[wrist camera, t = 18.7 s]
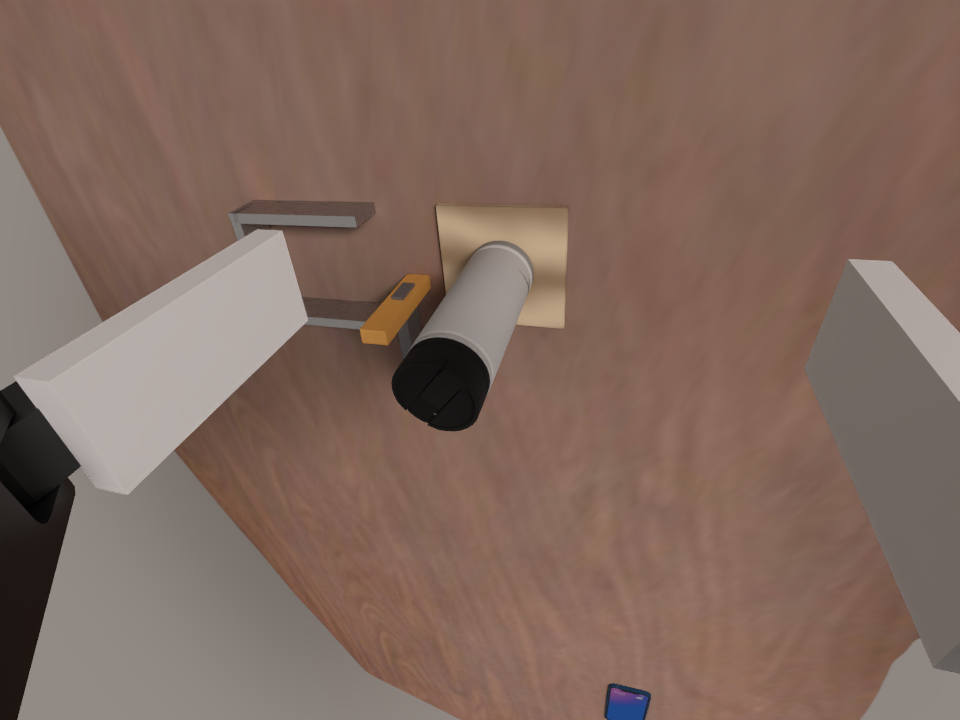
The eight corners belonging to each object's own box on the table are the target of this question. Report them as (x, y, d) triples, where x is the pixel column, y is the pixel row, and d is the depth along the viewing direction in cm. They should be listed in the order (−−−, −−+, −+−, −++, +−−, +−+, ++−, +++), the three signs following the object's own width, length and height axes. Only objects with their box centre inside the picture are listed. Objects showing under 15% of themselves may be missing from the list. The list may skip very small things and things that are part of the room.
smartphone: (603, 719, 97) (608, 685, 89) (604, 714, 98) (609, 680, 90) (642, 729, 96) (651, 696, 87) (642, 724, 96) (651, 690, 88)
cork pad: (437, 203, 46) (435, 205, 46) (568, 206, 43) (568, 208, 43) (450, 316, 53) (448, 319, 52) (564, 325, 50) (563, 328, 49)
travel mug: (550, 264, 46) (500, 403, 30) (509, 311, 50) (447, 454, 34) (495, 223, 45) (415, 343, 29) (458, 273, 49) (370, 403, 33)
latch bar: (406, 271, 51) (358, 326, 42) (428, 272, 50) (384, 328, 42) (423, 373, 58) (385, 437, 50) (442, 375, 58) (407, 440, 49)
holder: (253, 200, 51) (228, 213, 48) (373, 202, 48) (354, 216, 44) (287, 303, 58) (266, 321, 55) (394, 312, 54) (378, 331, 51)
